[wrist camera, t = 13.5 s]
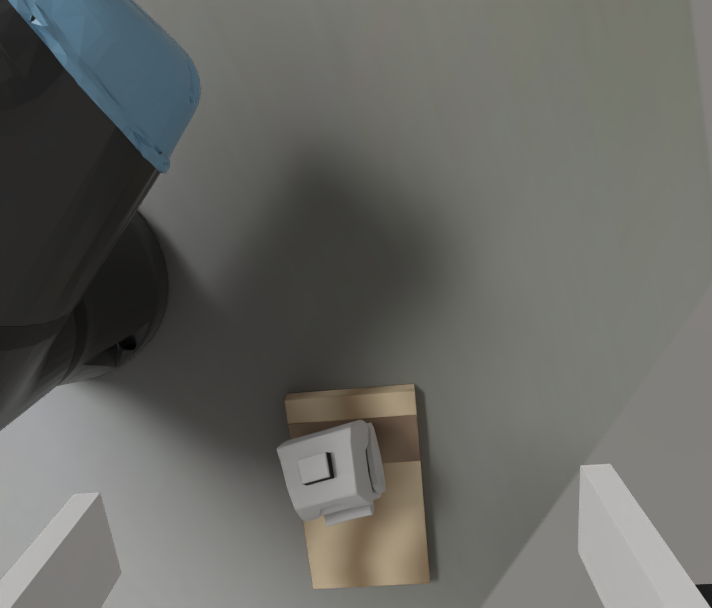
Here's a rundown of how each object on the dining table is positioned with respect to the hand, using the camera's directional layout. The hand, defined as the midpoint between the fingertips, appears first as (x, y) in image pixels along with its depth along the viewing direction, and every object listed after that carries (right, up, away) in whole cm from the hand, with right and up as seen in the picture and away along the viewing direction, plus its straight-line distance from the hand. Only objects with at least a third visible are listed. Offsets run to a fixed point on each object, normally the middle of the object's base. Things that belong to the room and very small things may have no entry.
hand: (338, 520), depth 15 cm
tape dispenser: (-1, -5, +28) cm, 29 cm away
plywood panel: (+1, -9, +31) cm, 32 cm away
